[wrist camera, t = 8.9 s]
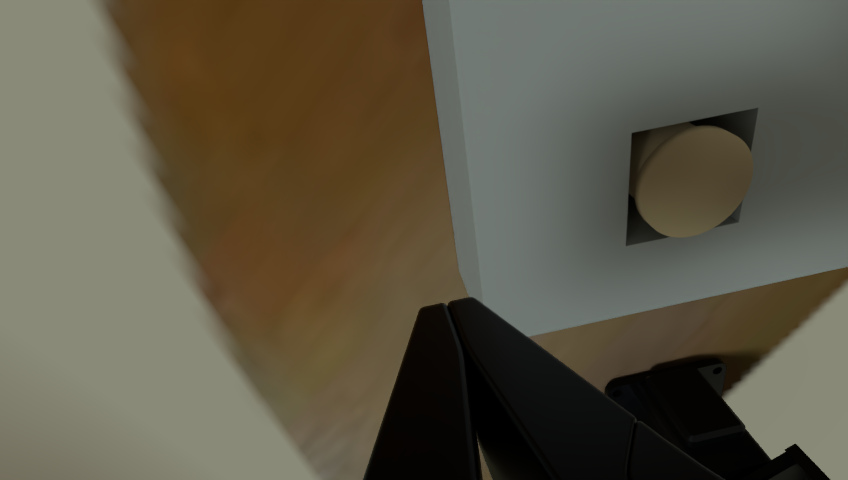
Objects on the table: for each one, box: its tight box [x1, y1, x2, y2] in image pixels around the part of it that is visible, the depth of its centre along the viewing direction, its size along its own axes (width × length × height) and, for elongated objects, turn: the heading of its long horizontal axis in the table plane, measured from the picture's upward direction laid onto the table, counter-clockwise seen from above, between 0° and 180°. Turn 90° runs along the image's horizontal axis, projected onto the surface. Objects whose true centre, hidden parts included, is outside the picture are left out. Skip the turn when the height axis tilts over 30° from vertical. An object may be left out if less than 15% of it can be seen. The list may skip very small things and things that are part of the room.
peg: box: [629, 122, 753, 238], centre depth 19 cm, size 4×4×6 cm
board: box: [422, 0, 848, 337], centre depth 17 cm, size 18×14×5 cm
